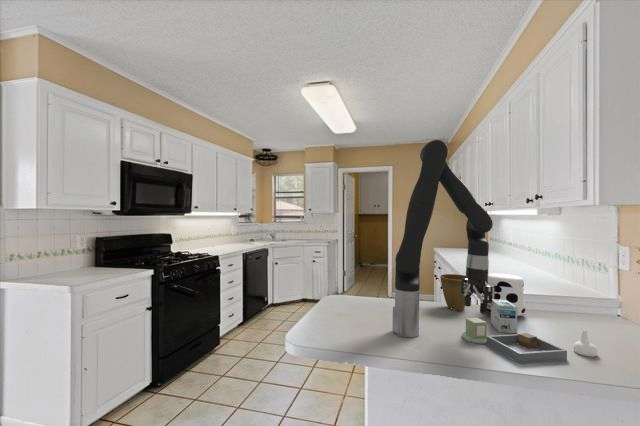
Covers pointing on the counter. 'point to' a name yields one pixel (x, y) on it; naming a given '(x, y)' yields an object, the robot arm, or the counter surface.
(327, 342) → the counter surface
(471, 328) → the olive box
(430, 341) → the counter surface
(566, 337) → the counter surface
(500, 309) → the light bulb box
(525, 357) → the bin
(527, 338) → the walnut block
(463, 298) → the plant pot
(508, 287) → the milk container
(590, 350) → the garlic bulb
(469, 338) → the saucer
